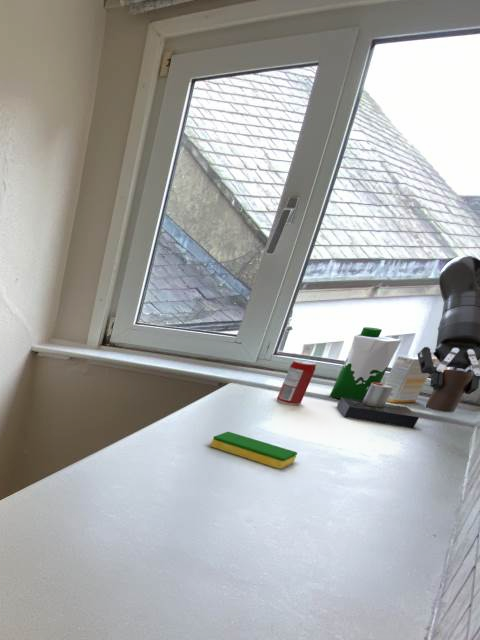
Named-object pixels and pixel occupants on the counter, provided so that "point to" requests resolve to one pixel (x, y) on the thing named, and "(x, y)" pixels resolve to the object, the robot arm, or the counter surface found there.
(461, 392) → the dark brown cylinder
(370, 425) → the counter surface
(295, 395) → the soda can
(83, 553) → the counter surface
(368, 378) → the milk carton
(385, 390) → the hob knob
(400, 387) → the supplement box
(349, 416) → the panel
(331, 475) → the counter surface
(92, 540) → the counter surface
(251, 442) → the dish sponge
